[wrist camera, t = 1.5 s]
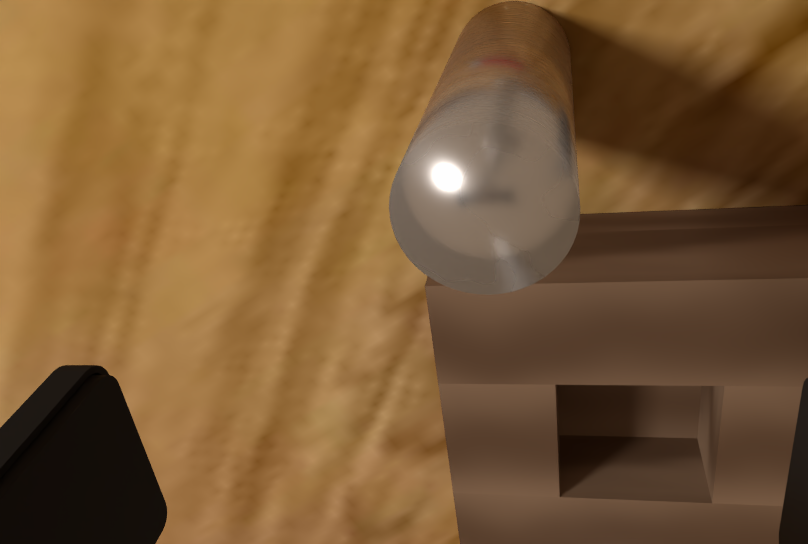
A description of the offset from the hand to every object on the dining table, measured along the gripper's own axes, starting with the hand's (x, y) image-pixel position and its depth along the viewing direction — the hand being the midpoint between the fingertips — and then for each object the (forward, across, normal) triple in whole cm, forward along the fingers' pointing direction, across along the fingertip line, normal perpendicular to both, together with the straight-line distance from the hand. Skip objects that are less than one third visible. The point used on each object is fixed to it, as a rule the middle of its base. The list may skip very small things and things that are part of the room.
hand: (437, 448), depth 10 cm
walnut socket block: (+19, -4, +12) cm, 23 cm away
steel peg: (+19, 0, -1) cm, 19 cm away
